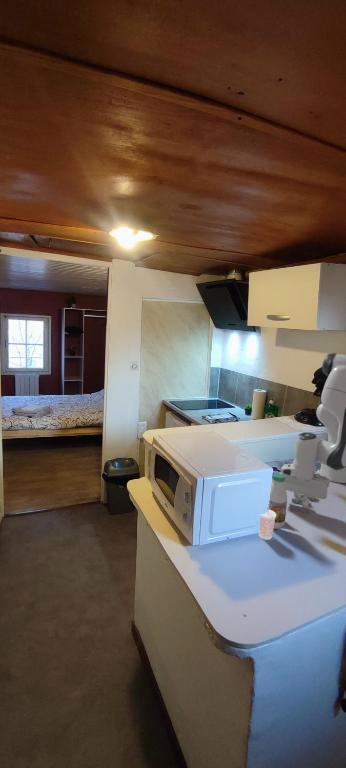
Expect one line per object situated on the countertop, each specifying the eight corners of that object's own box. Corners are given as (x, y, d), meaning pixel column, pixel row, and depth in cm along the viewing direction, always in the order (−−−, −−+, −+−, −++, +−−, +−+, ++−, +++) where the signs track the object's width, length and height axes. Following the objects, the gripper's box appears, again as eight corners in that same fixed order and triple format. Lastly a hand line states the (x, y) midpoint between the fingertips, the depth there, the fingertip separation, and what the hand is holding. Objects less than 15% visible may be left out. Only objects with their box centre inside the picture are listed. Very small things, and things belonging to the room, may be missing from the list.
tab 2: (303, 506, 153) (304, 497, 153) (308, 507, 152) (309, 498, 152) (302, 509, 151) (303, 499, 150) (307, 510, 150) (308, 501, 149)
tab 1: (295, 497, 160) (296, 489, 160) (300, 499, 160) (301, 490, 159) (294, 500, 158) (295, 491, 157) (299, 501, 157) (300, 493, 156)
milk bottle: (259, 520, 142) (264, 472, 139) (275, 517, 145) (280, 470, 142) (272, 531, 135) (278, 481, 132) (288, 527, 138) (294, 478, 135)
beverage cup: (256, 539, 129) (260, 502, 127) (256, 530, 135) (260, 495, 133) (274, 542, 128) (278, 505, 126) (273, 533, 134) (277, 497, 132)
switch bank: (295, 490, 171) (296, 485, 170) (316, 495, 166) (316, 490, 166) (286, 512, 149) (287, 506, 149) (309, 518, 145) (310, 512, 145)
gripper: (330, 474, 148) (326, 506, 151) (280, 463, 158) (277, 493, 160) (329, 480, 143) (325, 512, 145) (277, 468, 152) (273, 499, 154)
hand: (299, 502), depth 153 cm, fingers closed
